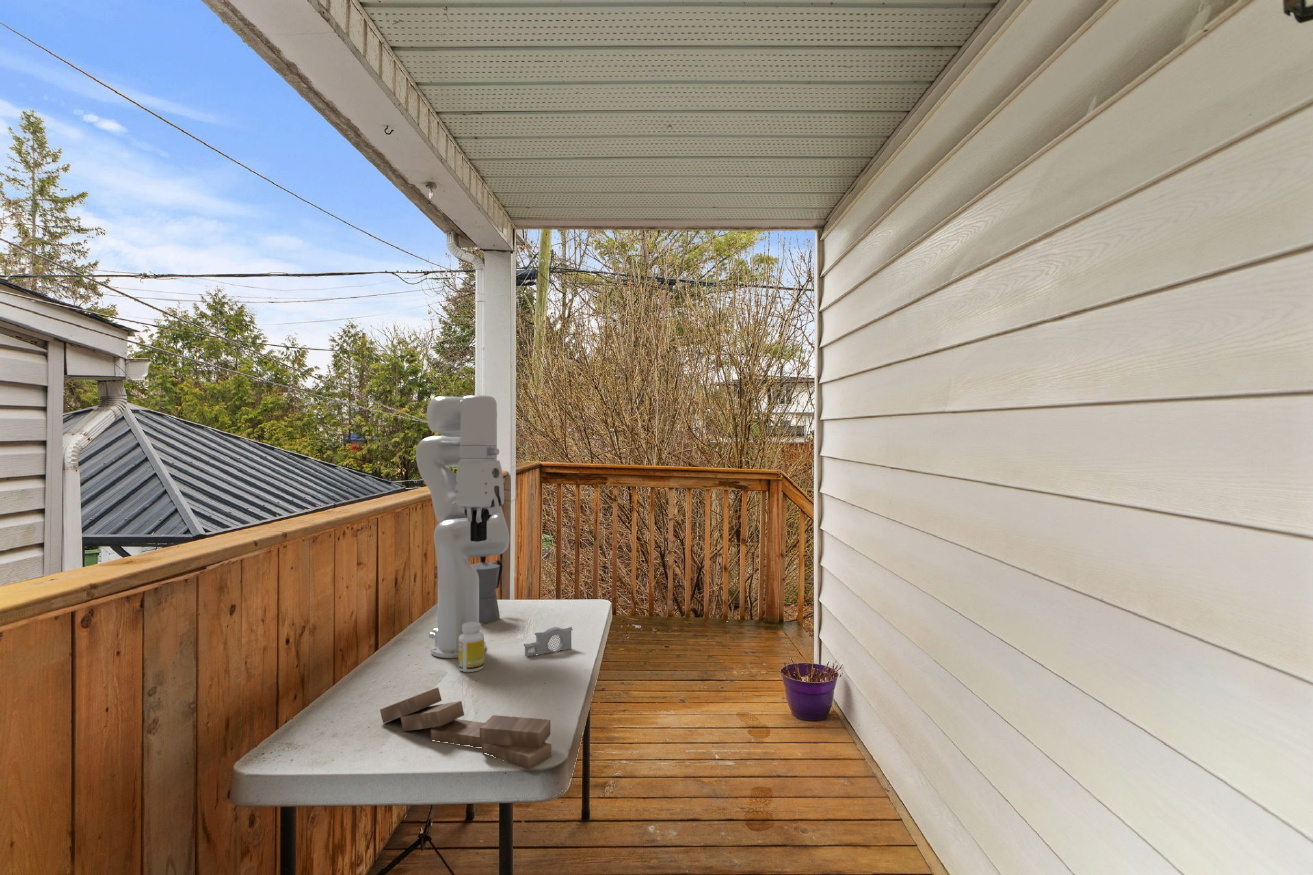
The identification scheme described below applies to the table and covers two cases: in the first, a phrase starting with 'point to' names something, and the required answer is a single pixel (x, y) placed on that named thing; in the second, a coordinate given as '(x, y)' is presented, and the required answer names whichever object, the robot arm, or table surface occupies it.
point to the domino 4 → (515, 731)
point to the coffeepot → (488, 589)
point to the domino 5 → (519, 754)
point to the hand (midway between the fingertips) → (478, 540)
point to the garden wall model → (544, 637)
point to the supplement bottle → (471, 647)
